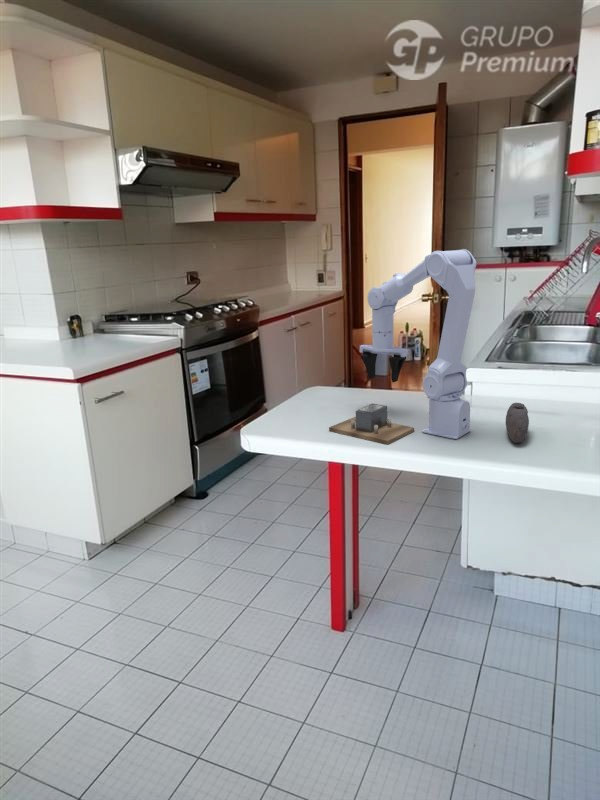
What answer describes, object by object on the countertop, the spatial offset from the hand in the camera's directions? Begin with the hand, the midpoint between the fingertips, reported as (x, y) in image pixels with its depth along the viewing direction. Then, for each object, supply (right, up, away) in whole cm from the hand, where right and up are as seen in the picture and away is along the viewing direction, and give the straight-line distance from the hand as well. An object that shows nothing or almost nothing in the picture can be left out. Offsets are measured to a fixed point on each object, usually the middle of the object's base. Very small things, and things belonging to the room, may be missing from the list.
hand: (383, 379), depth 157 cm
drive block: (-5, -13, -14) cm, 19 cm away
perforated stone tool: (+29, -15, -22) cm, 39 cm away
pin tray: (-5, -14, -13) cm, 20 cm away
